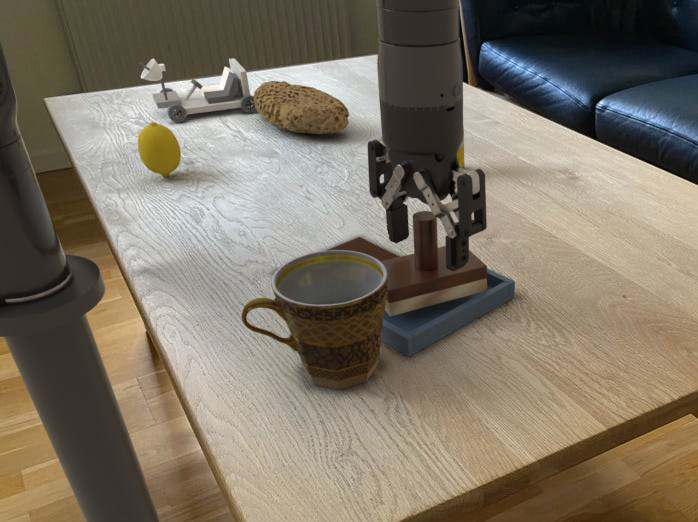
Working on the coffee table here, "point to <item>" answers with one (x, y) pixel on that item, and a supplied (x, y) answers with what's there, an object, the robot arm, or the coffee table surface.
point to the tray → (444, 316)
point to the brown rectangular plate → (365, 249)
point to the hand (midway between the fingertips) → (427, 253)
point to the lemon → (159, 149)
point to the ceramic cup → (330, 314)
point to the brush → (429, 272)
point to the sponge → (300, 108)
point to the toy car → (202, 92)
